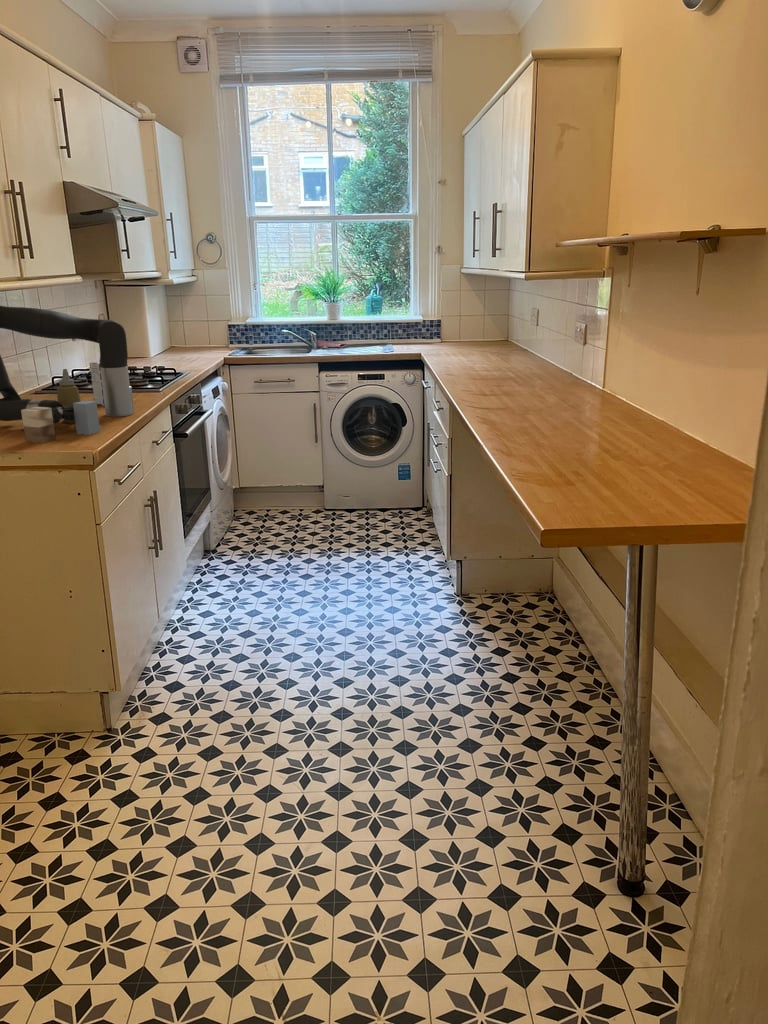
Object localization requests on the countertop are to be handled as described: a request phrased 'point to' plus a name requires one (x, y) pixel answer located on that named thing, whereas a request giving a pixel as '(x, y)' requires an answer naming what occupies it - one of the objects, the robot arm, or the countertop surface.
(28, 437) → the tower base
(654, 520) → the countertop surface
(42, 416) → the tower top
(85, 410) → the pillar
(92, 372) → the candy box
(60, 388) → the squeeze bottle
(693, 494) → the countertop surface
